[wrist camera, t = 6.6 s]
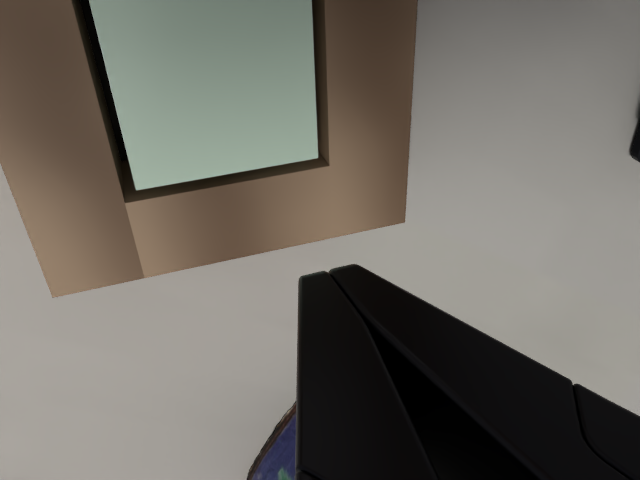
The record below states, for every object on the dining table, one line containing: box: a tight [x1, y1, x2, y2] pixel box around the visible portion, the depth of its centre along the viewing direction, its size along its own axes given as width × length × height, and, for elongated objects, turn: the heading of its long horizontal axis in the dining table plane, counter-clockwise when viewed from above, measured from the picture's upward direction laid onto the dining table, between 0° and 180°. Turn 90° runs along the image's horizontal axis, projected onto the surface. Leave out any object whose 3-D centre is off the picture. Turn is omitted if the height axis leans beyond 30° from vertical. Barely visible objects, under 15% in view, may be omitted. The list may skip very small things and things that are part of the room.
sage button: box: [89, 0, 318, 190], centre depth 17 cm, size 6×6×3 cm
